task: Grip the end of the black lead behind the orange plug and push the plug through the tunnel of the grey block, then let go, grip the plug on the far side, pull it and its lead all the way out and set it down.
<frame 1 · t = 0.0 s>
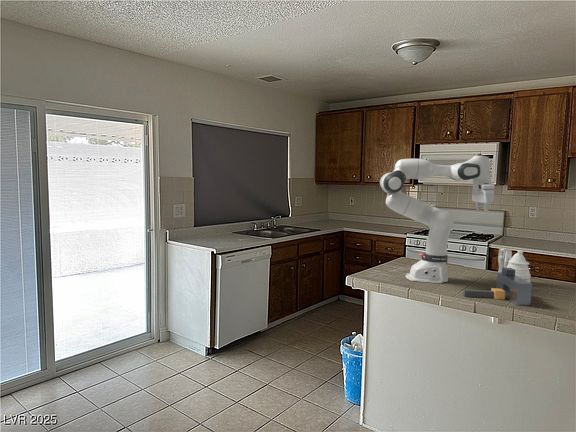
hand: (482, 210, 222), 39 cm above the counter, tool pointing down, fingers open, 8 cm apart
plug: (497, 297, 195), on the counter
honey pot: (516, 283, 224), on the counter
grey block: (512, 298, 195), on the counter
beer glass: (503, 275, 242), on the counter
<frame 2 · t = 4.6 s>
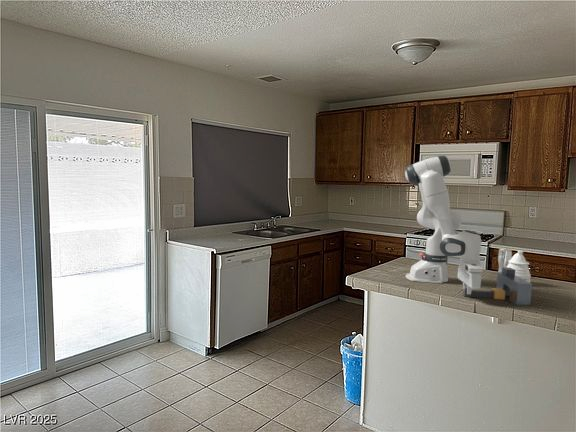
hand: (467, 293, 196), 2 cm above the counter, tool pointing down, fingers closed on plug, 2 cm apart
plug: (497, 297, 195), on the counter, touching gripper
everything else where it was.
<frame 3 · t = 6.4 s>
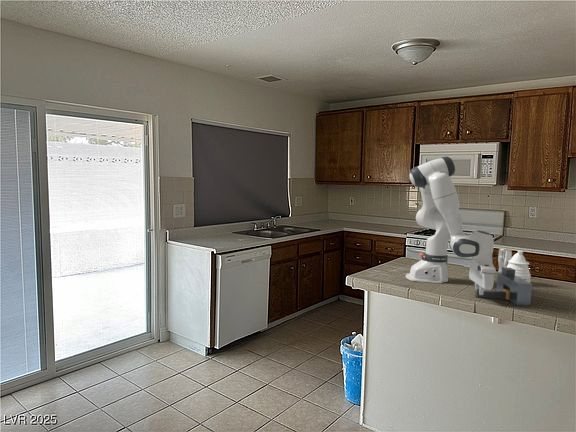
hand: (479, 293, 195), 2 cm above the counter, tool pointing down, fingers closed on plug, 2 cm apart
plug: (509, 298, 194), on the counter, touching gripper
everything else where it was.
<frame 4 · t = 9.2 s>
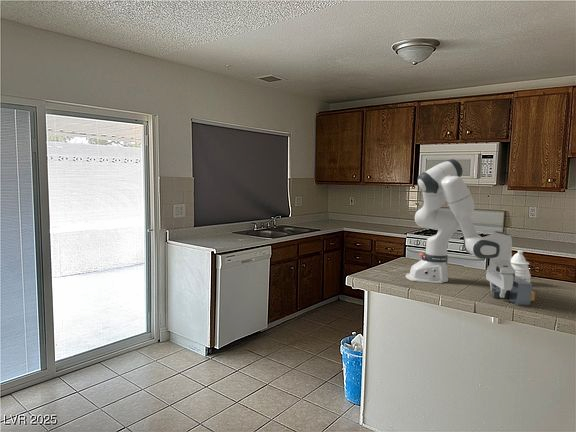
hand: (497, 294, 195), 2 cm above the counter, tool pointing down, fingers open, 8 cm apart
plug: (526, 299, 194), on the counter
everything else where it was.
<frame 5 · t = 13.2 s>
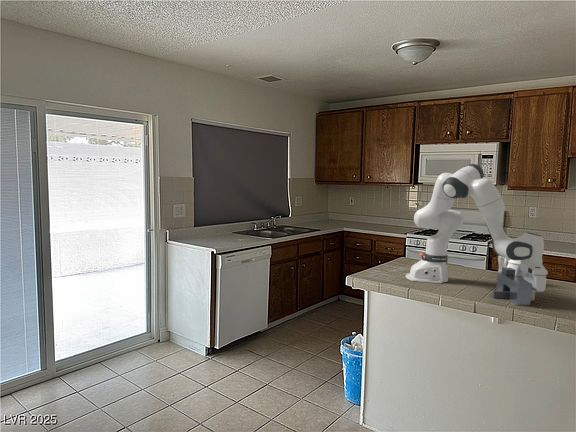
hand: (528, 295, 194), 2 cm above the counter, tool pointing down, fingers closed on plug, 4 cm apart
plug: (526, 299, 194), on the counter, touching gripper
everything else where it was.
when the fingers open (2 cm above the counter, at t = 17.1 s): plug stays where it is, on the counter.
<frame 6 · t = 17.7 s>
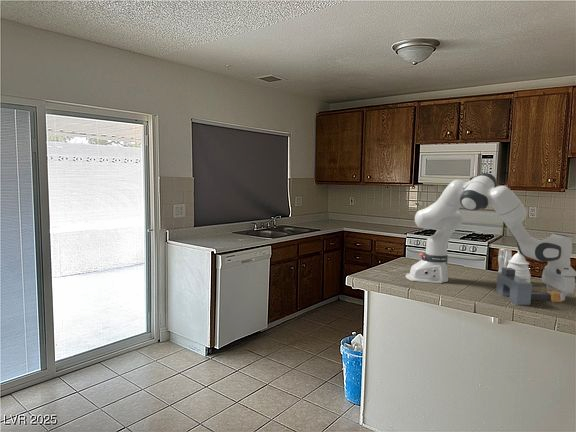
hand: (555, 297, 193), 2 cm above the counter, tool pointing down, fingers open, 8 cm apart
plug: (554, 300, 193), on the counter
everything else where it was.
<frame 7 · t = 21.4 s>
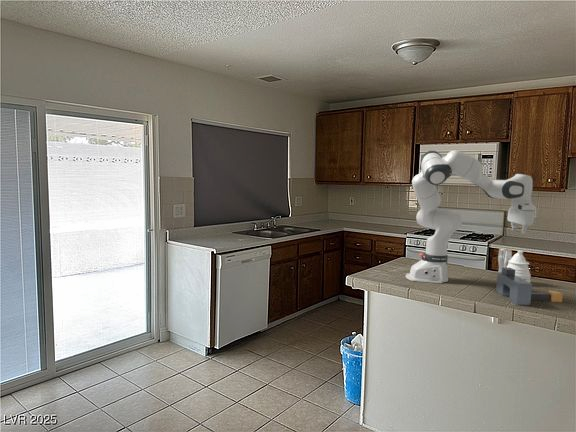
hand: (518, 232, 212), 29 cm above the counter, tool pointing down, fingers open, 8 cm apart
nothing on the counter moved.
at the end: plug inside the target area (2.5 cm from its centre), on the counter; plug touching counter; the gripper is holding nothing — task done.
